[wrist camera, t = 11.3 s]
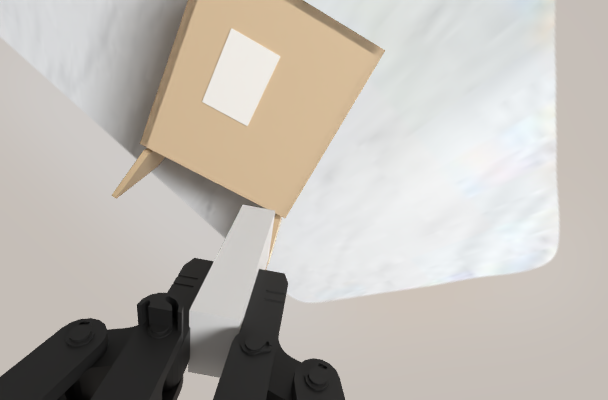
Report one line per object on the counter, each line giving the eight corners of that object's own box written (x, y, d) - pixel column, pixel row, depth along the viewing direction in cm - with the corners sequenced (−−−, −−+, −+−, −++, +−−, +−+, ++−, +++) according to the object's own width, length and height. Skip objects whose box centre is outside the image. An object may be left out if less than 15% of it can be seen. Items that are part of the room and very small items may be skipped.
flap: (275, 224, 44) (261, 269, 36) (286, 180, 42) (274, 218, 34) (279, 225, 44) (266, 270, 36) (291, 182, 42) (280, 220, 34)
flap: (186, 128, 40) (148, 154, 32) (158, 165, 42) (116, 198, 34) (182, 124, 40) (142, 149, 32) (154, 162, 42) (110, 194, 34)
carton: (242, -36, 33) (207, -59, 24) (373, 44, 35) (385, 50, 26) (184, 117, 40) (139, 144, 31) (296, 176, 42) (285, 218, 33)
